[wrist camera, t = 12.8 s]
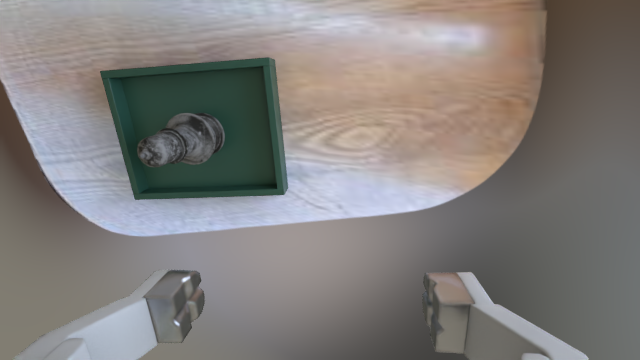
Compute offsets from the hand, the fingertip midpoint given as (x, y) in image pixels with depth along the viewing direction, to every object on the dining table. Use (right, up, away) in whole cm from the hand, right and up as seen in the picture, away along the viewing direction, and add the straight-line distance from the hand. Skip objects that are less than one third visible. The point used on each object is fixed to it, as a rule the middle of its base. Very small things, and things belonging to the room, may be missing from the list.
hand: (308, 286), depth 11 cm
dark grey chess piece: (-14, +10, +26) cm, 31 cm away
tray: (-14, +10, +27) cm, 32 cm away
